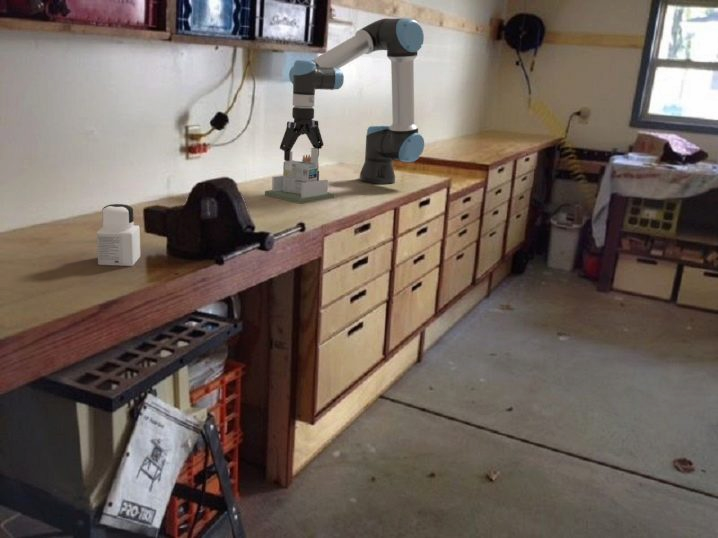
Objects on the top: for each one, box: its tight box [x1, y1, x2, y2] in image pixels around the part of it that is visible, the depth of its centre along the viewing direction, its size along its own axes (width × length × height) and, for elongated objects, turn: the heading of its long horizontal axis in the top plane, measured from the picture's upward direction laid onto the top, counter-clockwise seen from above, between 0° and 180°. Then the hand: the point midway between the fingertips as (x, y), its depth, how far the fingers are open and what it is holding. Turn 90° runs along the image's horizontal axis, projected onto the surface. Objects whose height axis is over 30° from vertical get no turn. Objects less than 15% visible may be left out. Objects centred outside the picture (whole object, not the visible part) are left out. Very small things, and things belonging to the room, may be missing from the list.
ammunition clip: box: [301, 153, 320, 181], centre depth 264 cm, size 11×2×12 cm, turn 149°
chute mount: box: [264, 174, 335, 204], centre depth 241 cm, size 18×17×6 cm
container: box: [96, 203, 141, 267], centre depth 153 cm, size 8×8×13 cm
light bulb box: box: [282, 159, 319, 194], centre depth 240 cm, size 11×7×11 cm, turn 66°
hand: (301, 168), depth 239 cm, fingers open, 13 cm apart
